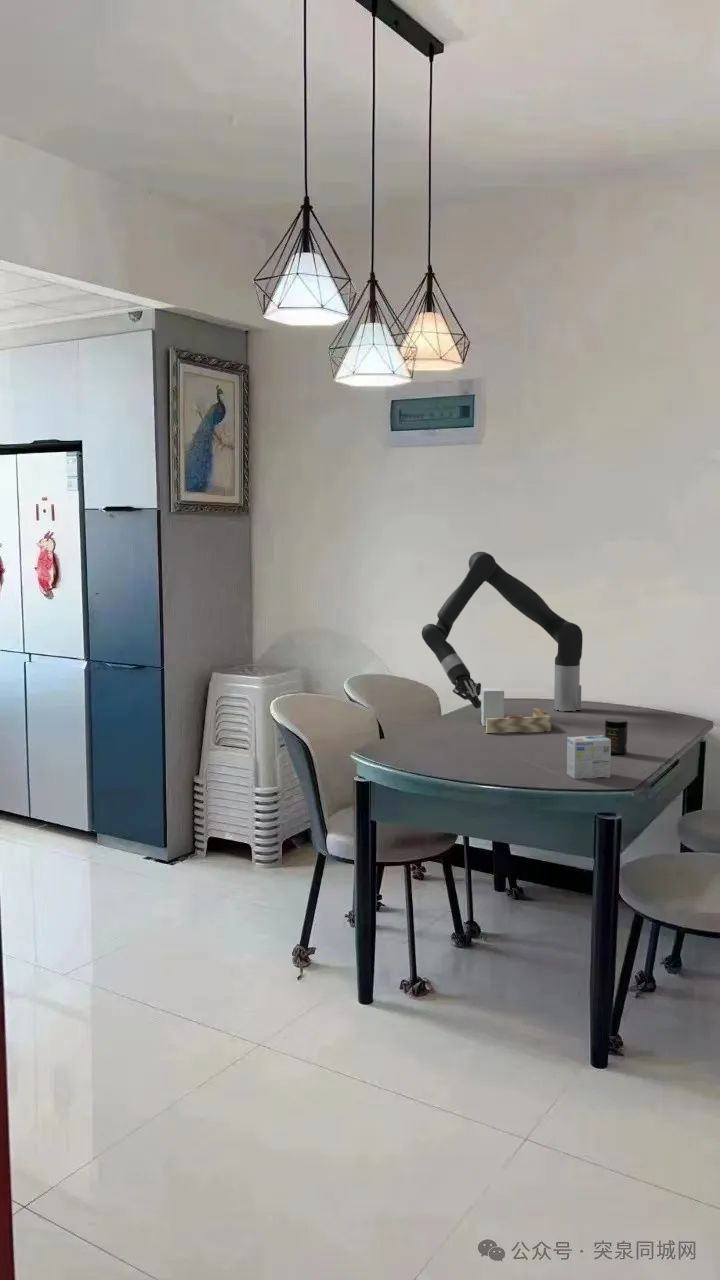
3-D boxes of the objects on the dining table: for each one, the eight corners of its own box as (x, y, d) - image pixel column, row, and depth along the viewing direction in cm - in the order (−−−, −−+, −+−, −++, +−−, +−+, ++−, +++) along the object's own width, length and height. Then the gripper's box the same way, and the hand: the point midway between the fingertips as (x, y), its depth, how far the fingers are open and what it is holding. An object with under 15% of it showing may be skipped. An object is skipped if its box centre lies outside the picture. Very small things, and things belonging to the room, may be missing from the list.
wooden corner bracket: (536, 721, 347) (536, 706, 347) (551, 731, 331) (552, 715, 330) (474, 724, 344) (474, 708, 344) (486, 733, 328) (487, 717, 327)
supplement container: (627, 756, 294) (627, 722, 293) (603, 755, 296) (604, 721, 295) (627, 751, 301) (628, 718, 300) (604, 750, 303) (605, 717, 301)
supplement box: (504, 726, 339) (504, 690, 338) (482, 726, 340) (483, 690, 338) (501, 722, 347) (502, 687, 345) (480, 722, 347) (480, 687, 346)
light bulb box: (601, 772, 276) (602, 734, 275) (611, 777, 270) (612, 739, 269) (565, 773, 275) (566, 736, 274) (574, 779, 268) (575, 741, 267)
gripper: (447, 664, 350) (470, 702, 341) (473, 661, 358) (497, 698, 349) (436, 677, 354) (460, 715, 346) (463, 673, 362) (486, 711, 354)
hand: (479, 706), depth 348 cm, fingers closed
